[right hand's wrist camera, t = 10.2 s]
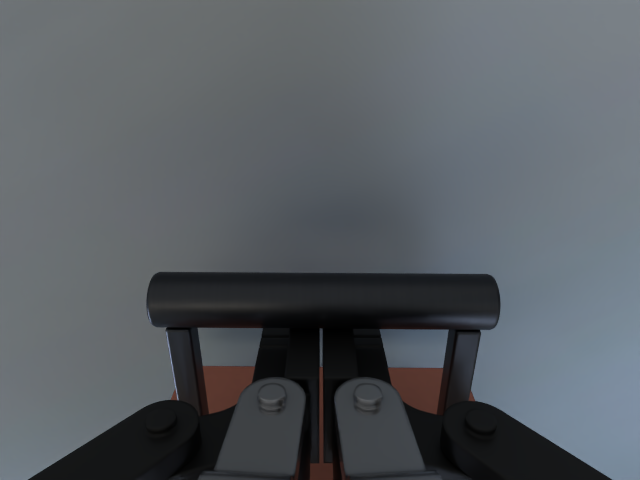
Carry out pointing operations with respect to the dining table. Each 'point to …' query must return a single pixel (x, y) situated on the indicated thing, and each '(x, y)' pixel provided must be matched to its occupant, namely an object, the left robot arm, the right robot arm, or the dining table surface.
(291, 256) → the dining table surface
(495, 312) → the drawer
